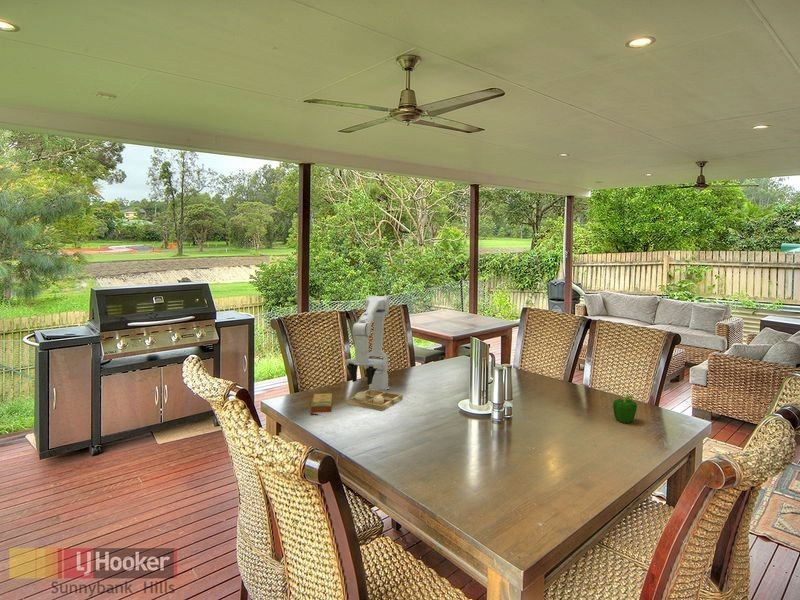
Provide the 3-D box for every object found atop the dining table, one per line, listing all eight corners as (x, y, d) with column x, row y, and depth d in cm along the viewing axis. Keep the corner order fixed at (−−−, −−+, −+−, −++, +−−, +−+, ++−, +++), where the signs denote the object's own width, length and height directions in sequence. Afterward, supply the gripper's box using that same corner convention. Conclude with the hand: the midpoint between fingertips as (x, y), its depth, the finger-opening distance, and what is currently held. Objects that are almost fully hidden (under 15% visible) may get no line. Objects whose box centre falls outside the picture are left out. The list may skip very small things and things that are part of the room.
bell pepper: (612, 423, 186) (614, 397, 185) (611, 416, 193) (612, 391, 192) (637, 426, 183) (638, 400, 182) (634, 418, 191) (636, 393, 189)
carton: (332, 402, 211) (332, 392, 210) (331, 415, 195) (331, 405, 194) (313, 403, 210) (313, 393, 209) (310, 416, 194) (310, 405, 193)
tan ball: (376, 403, 204) (376, 392, 204) (386, 405, 202) (386, 394, 202) (370, 406, 201) (370, 395, 200) (380, 408, 198) (380, 397, 198)
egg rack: (369, 395, 218) (369, 388, 218) (402, 401, 210) (402, 394, 210) (347, 407, 204) (347, 399, 203) (382, 413, 195) (382, 406, 195)
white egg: (361, 402, 208) (357, 392, 209) (369, 399, 206) (365, 389, 207) (355, 405, 204) (351, 395, 205) (363, 402, 202) (359, 392, 203)
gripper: (341, 351, 203) (342, 382, 205) (371, 354, 196) (371, 387, 198) (351, 347, 209) (352, 378, 211) (380, 351, 202) (380, 383, 204)
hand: (362, 382), depth 205 cm, fingers open, 7 cm apart
